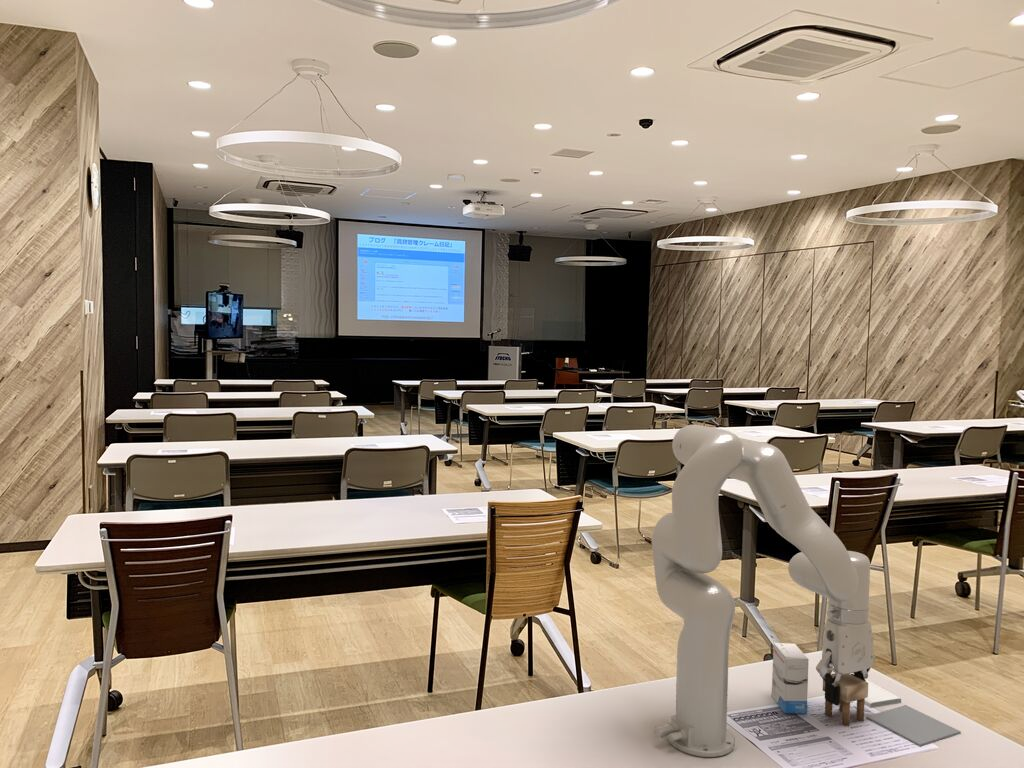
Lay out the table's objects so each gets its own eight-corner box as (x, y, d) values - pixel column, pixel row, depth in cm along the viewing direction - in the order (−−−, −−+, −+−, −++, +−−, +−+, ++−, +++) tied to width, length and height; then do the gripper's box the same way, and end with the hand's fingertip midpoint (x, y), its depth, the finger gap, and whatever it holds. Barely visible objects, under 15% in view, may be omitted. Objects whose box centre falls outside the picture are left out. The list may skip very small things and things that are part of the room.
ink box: (808, 714, 155) (810, 658, 155) (783, 714, 155) (785, 658, 155) (793, 695, 164) (795, 642, 163) (770, 695, 164) (772, 641, 163)
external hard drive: (870, 710, 159) (828, 684, 170) (901, 705, 161) (858, 680, 173) (870, 702, 159) (829, 677, 170) (901, 697, 161) (858, 673, 173)
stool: (845, 727, 150) (847, 688, 150) (821, 714, 155) (823, 676, 155) (866, 721, 153) (868, 682, 152) (842, 708, 158) (843, 671, 158)
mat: (920, 746, 143) (920, 744, 143) (866, 718, 154) (866, 716, 154) (960, 733, 148) (960, 731, 148) (905, 706, 159) (905, 704, 159)
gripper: (832, 625, 146) (829, 716, 147) (893, 613, 153) (890, 699, 154) (802, 613, 153) (799, 699, 154) (862, 601, 160) (859, 684, 161)
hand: (844, 698), depth 154 cm, fingers open, 6 cm apart
